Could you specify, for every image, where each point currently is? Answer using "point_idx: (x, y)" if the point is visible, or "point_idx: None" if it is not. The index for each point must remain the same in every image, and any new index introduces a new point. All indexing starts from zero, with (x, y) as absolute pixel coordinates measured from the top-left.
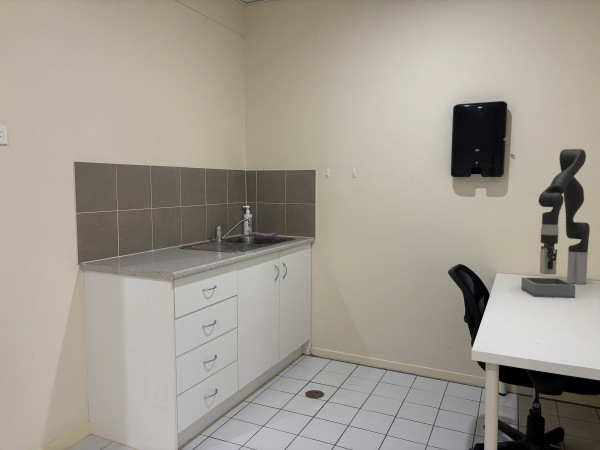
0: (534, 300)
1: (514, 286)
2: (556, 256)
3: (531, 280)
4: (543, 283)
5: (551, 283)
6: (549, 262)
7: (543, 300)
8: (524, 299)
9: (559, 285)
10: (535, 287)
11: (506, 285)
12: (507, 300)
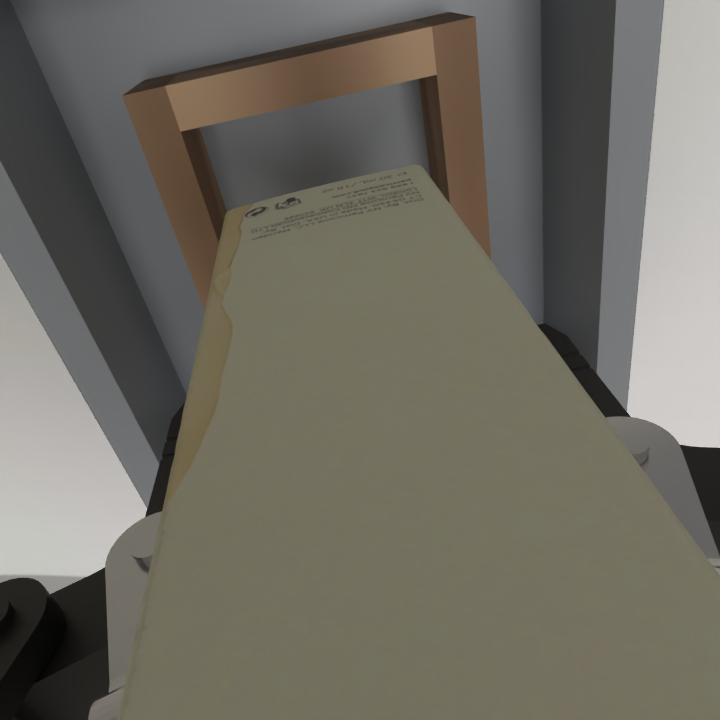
0: (714, 352)
1: (64, 468)
2: (644, 475)
3: (147, 404)
4: (202, 258)
5: (138, 132)
6: None
7: (716, 278)
8: (674, 419)
9: (649, 110)
10: None
11: (53, 524)
12: None
